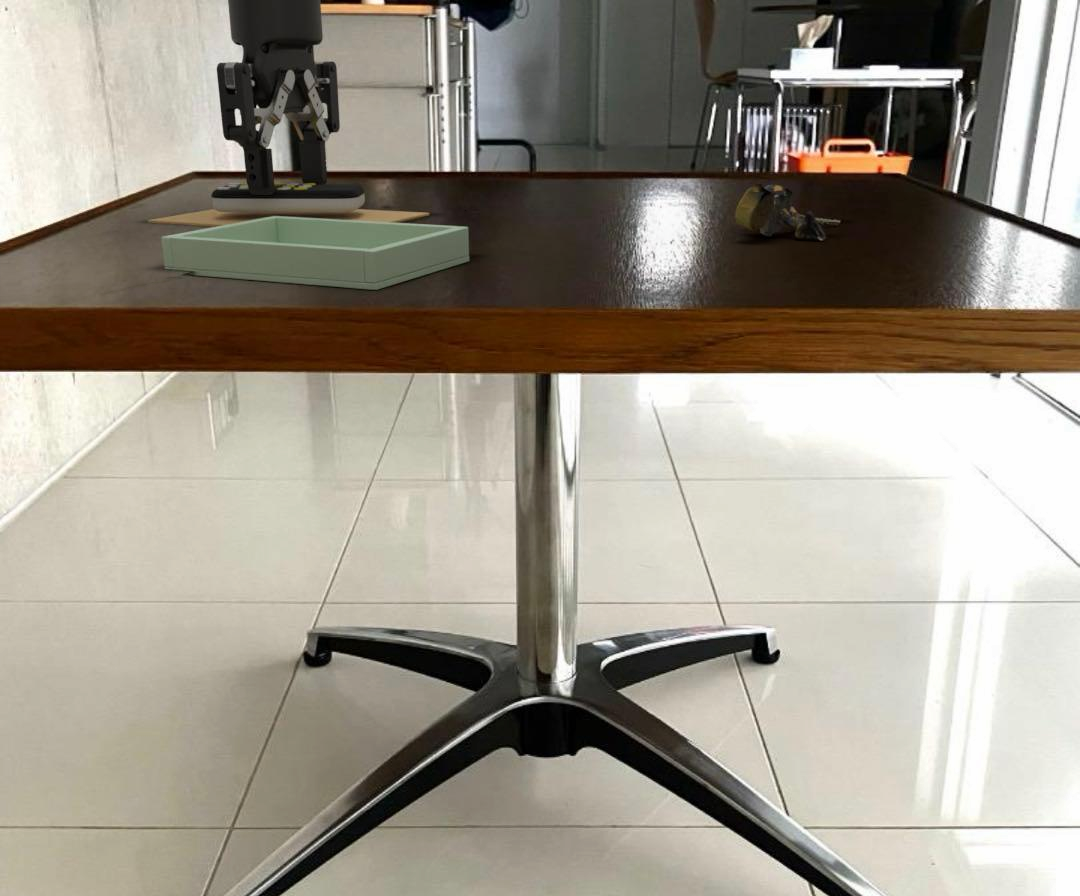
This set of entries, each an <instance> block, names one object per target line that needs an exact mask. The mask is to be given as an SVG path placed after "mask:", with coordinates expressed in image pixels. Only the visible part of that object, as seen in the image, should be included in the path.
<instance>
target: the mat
mask: <svg viewBox="0 0 1080 896" xmlns="http://www.w3.org/2000/svg"><path fill="white" fill-rule="evenodd" d="M271 216H281V217H282V216H285V217H303V218H321V219H339V220H356V221H374V222H392V223H403V222H406V221H408V222H406V223H410V224H413V223H416V222H420V221H425V220H429V219H430V217H428V216H430V212H420V211H401V210H383V209H382V210H381V209H365V208H364V209H363V208H358V209H357V210H355V211H352V212H219V211H217V210H215V209H214V208H211V209H205V210H199V211H193V212H188V213H187V212H186V213H181V214H176V215H175V214H174V215H169V216H164V217H157V218H151V219H148V220H147V223H150V224H151V223H153V224H166V225H167V224H168V225H170V224H171V225H182V226H183V225H184V226H198V227H200V226H201V227H217V226H222V225H228V224H233V223H238V222H244V221H249V220H255V219H260V218H265V217H271ZM423 217H425V218H423ZM414 219H416V220H414ZM410 220H411V221H410Z"/></svg>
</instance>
